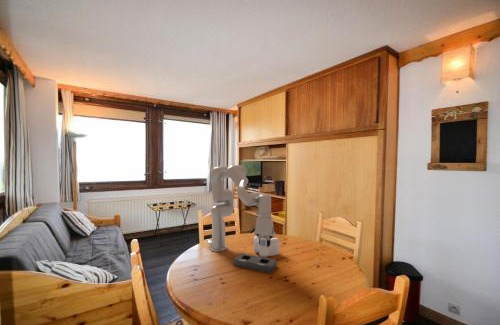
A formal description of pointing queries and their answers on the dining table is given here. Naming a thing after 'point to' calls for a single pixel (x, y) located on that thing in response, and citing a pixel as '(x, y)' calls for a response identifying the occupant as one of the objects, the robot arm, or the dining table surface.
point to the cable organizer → (273, 247)
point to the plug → (264, 245)
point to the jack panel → (255, 263)
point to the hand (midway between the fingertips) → (264, 245)
